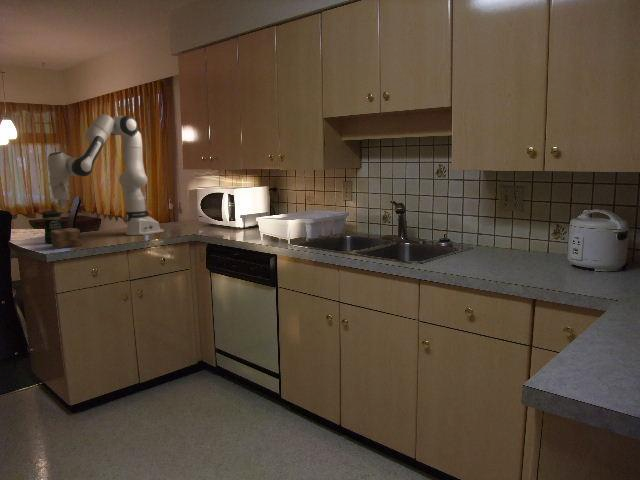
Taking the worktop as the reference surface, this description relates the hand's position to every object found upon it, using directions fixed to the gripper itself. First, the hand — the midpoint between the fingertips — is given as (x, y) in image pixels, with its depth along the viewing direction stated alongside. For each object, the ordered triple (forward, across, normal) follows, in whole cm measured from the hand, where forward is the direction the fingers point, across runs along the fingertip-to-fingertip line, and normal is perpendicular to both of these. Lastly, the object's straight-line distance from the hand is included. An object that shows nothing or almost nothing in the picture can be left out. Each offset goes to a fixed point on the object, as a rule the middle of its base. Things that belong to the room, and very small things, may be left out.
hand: (62, 208), depth 274 cm
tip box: (+21, 0, 0) cm, 21 cm away
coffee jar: (+21, +21, +2) cm, 30 cm away
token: (+2, 0, 0) cm, 2 cm away
